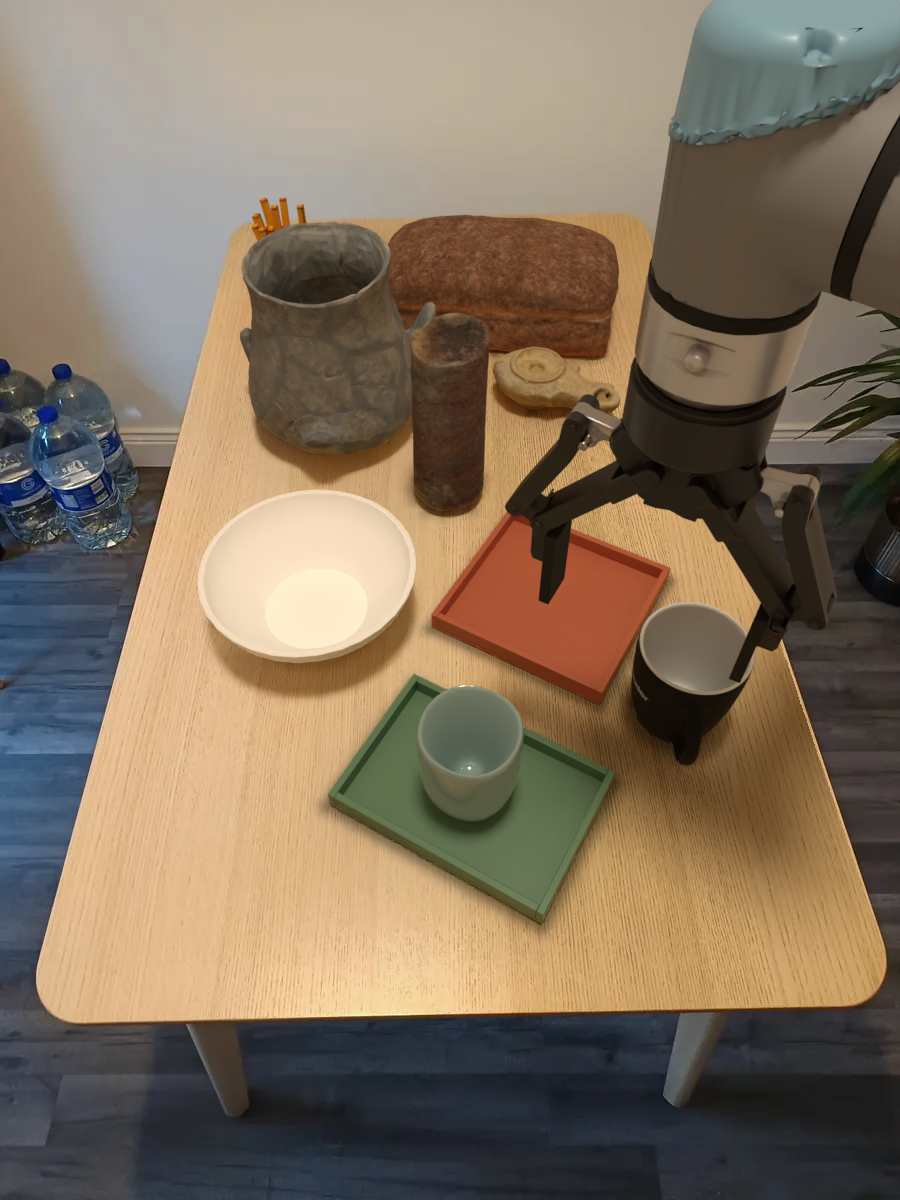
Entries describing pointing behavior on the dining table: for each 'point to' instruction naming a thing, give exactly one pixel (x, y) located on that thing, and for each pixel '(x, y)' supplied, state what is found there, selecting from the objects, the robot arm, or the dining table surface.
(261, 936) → the dining table surface
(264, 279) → the vessel
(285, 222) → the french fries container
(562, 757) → the green tray
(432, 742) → the cup
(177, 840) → the dining table surface
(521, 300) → the bread
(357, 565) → the bowl
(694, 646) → the mug
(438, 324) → the candle
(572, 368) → the oil lamp
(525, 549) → the terracotta tray
